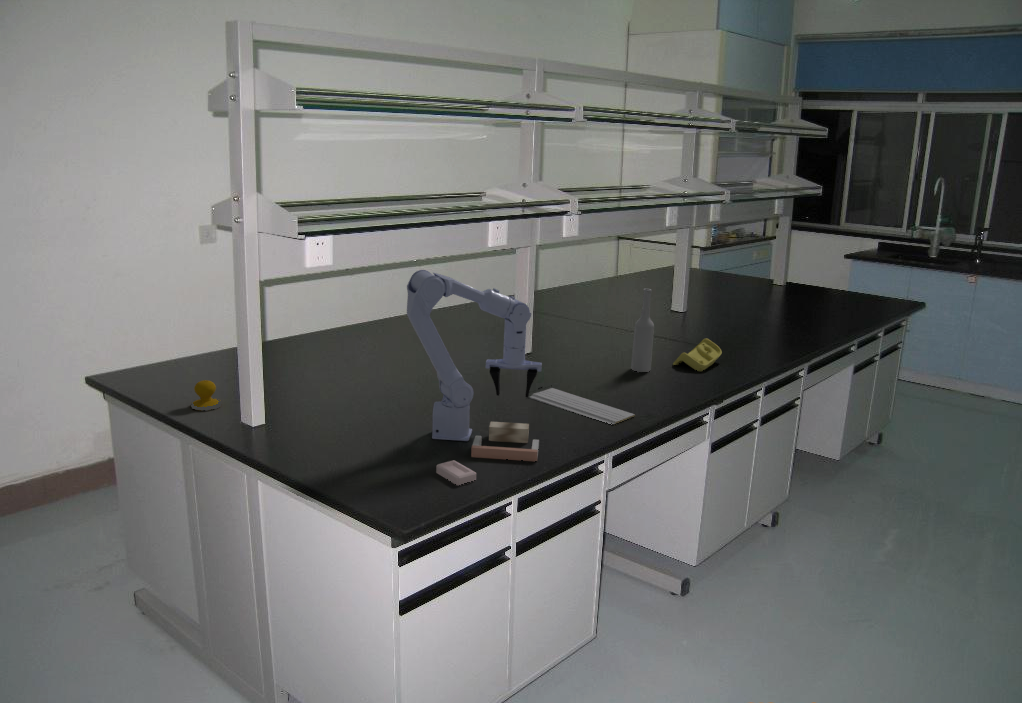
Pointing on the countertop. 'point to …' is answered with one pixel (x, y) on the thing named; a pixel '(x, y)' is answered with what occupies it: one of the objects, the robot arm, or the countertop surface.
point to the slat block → (508, 432)
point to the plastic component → (700, 355)
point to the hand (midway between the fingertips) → (512, 395)
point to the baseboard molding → (581, 406)
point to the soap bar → (455, 472)
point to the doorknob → (205, 393)
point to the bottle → (643, 337)
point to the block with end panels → (504, 451)
